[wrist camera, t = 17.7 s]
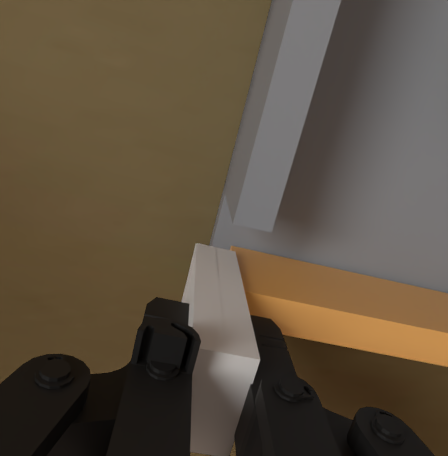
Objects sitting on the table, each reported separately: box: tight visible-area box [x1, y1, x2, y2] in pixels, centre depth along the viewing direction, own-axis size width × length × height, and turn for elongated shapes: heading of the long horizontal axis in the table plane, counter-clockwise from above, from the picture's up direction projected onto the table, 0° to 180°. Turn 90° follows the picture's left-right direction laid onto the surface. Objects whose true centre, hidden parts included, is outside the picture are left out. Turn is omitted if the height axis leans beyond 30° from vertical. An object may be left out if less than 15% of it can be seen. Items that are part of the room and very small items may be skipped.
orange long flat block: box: [230, 246, 448, 367], centre depth 15 cm, size 12×1×4 cm, turn 76°
